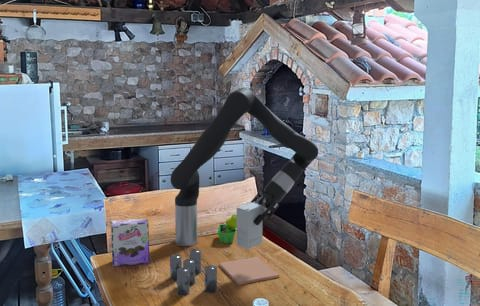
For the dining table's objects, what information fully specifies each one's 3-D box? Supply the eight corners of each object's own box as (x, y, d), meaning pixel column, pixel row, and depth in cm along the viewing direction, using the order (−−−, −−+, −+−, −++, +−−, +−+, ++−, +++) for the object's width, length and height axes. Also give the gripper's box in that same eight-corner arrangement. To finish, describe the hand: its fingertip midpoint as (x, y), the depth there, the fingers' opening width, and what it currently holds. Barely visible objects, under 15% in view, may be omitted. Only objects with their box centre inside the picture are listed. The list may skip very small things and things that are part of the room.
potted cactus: (219, 235, 214) (219, 210, 212) (239, 235, 214) (239, 211, 212) (217, 244, 203) (217, 218, 201) (238, 244, 203) (238, 219, 201)
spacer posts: (164, 274, 172) (164, 253, 171) (199, 268, 178) (198, 248, 176) (181, 298, 154) (180, 275, 153) (218, 291, 159) (218, 269, 158)
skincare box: (251, 240, 179) (251, 201, 176) (263, 244, 175) (263, 204, 172) (235, 246, 173) (235, 206, 170) (247, 250, 169) (248, 209, 166)
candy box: (112, 267, 178) (110, 224, 176) (112, 261, 184) (110, 220, 181) (149, 263, 182) (148, 222, 179) (148, 257, 188) (147, 217, 185)
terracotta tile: (219, 265, 181) (219, 263, 181) (257, 259, 187) (257, 256, 187) (238, 285, 164) (238, 282, 164) (279, 277, 171) (279, 274, 171)
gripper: (264, 175, 180) (235, 209, 178) (282, 184, 167) (252, 220, 165) (276, 188, 183) (248, 221, 181) (295, 197, 170) (265, 232, 168)
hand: (250, 220), depth 173 cm, fingers closed on skincare box, 7 cm apart
